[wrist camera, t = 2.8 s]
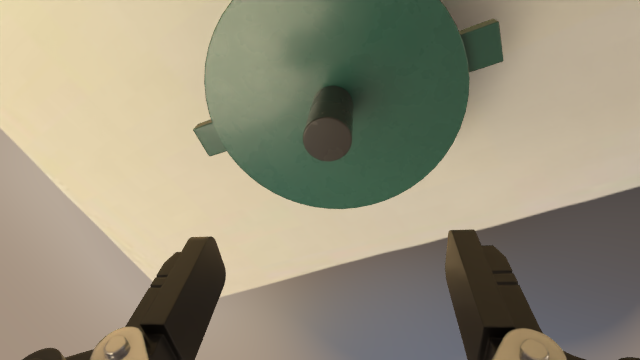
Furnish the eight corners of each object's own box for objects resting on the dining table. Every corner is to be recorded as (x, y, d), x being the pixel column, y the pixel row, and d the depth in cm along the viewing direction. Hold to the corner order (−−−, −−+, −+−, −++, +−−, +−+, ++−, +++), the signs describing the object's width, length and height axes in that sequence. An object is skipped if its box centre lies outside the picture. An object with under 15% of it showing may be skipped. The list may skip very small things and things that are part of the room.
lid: (160, 19, 22) (101, 41, 17) (434, -108, 18) (464, -129, 13) (274, 221, 30) (257, 277, 25) (483, 168, 26) (513, 222, 21)
